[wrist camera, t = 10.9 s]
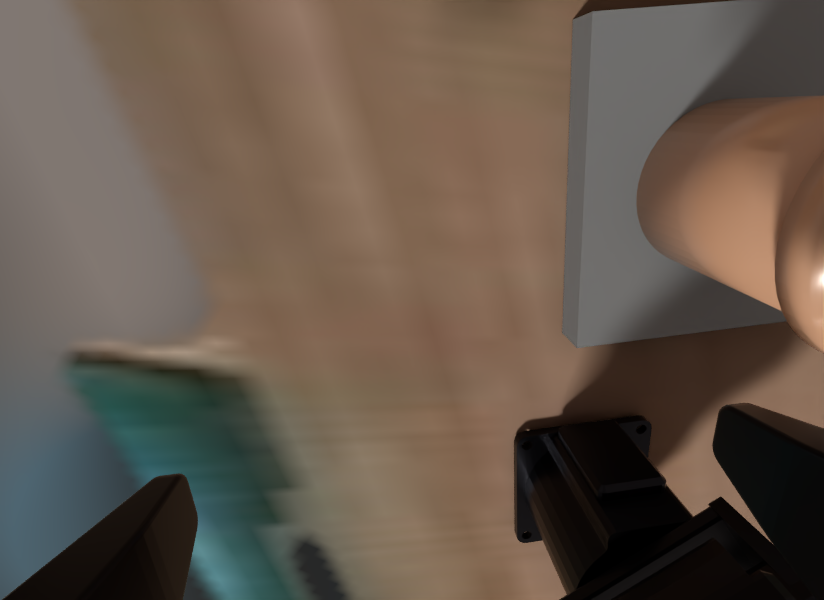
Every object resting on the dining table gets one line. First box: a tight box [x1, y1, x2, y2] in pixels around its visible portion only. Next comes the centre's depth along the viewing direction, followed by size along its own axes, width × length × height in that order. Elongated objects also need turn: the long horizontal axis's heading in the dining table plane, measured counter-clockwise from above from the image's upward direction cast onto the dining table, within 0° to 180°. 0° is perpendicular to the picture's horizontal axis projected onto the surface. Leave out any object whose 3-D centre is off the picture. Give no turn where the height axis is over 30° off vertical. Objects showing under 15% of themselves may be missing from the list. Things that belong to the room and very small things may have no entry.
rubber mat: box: [562, 0, 824, 348], centre depth 19 cm, size 12×10×2 cm
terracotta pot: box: [636, 95, 824, 353], centre depth 14 cm, size 7×7×8 cm
